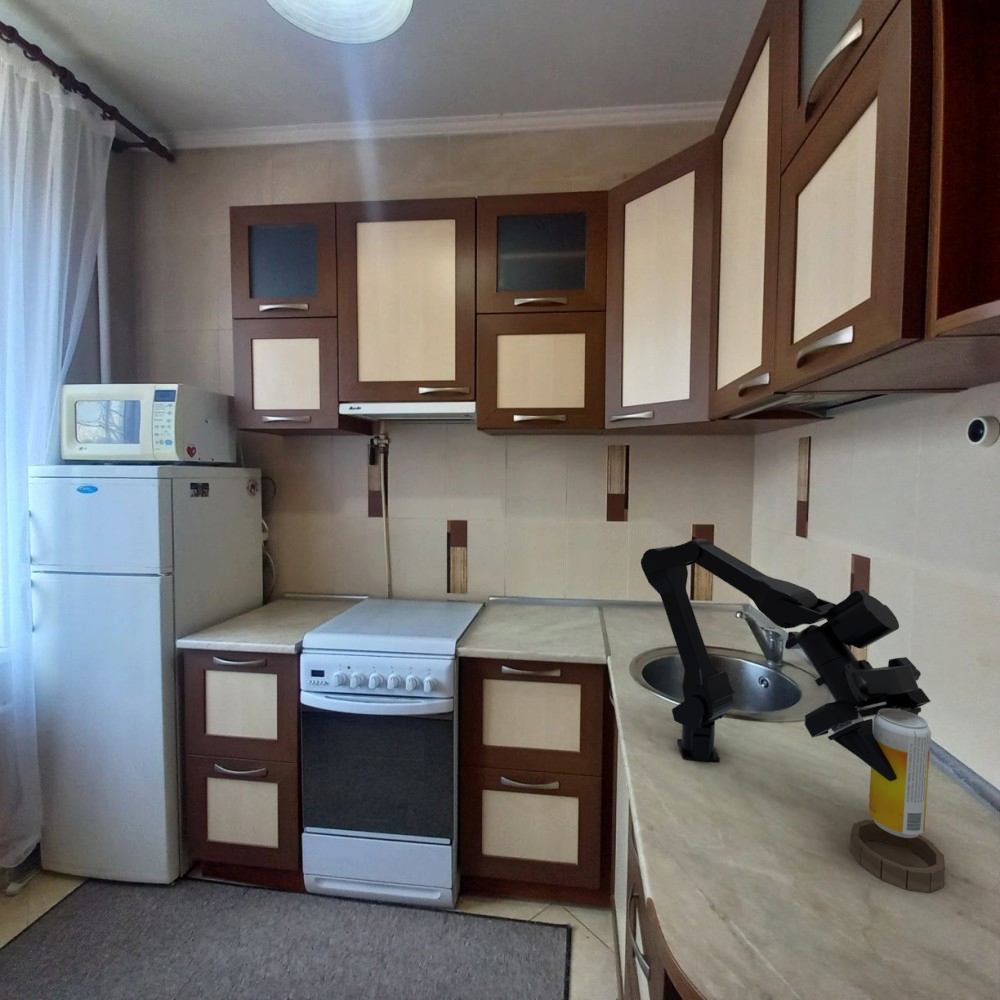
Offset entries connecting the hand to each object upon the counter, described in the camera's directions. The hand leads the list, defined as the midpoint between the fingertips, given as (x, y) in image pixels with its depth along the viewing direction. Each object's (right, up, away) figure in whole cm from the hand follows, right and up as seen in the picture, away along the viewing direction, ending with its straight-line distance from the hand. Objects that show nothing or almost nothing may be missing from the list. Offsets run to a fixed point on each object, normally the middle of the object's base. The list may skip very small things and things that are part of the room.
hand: (909, 775), depth 70 cm
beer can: (-1, -8, +2) cm, 8 cm away
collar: (0, -13, +2) cm, 13 cm away
